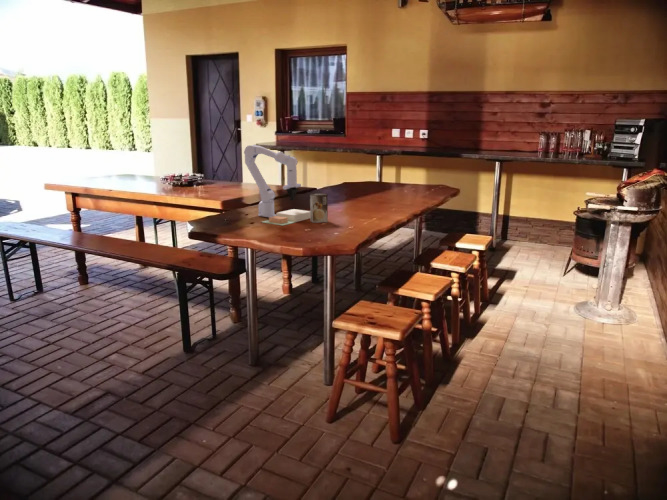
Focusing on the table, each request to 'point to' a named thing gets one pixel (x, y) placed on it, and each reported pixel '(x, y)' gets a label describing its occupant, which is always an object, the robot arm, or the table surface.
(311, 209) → the coffee box
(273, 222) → the green mat
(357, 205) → the table surface
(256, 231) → the table surface
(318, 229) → the table surface
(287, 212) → the white panel
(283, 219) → the terracotta tile
